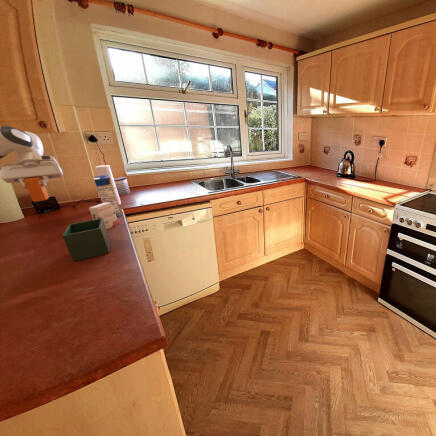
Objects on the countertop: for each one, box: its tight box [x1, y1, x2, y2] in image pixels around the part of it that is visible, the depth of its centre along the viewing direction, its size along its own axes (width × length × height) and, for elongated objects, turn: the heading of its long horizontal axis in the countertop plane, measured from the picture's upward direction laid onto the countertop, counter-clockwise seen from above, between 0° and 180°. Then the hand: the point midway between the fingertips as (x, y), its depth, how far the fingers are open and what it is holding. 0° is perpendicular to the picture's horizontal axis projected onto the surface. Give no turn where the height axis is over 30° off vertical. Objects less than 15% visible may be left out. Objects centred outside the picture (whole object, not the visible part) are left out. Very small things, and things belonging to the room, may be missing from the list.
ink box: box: [88, 202, 120, 230], centre depth 122 cm, size 9×5×12 cm, turn 168°
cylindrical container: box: [95, 164, 122, 206], centre depth 154 cm, size 7×7×25 cm
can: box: [114, 176, 131, 197], centre depth 181 cm, size 11×11×12 cm
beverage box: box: [93, 175, 123, 218], centre depth 137 cm, size 7×11×22 cm, turn 39°
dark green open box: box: [62, 218, 112, 263], centre depth 99 cm, size 11×13×11 cm
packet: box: [24, 177, 50, 203], centre depth 113 cm, size 4×6×10 cm
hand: (35, 186), depth 111 cm, fingers closed on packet, 4 cm apart
